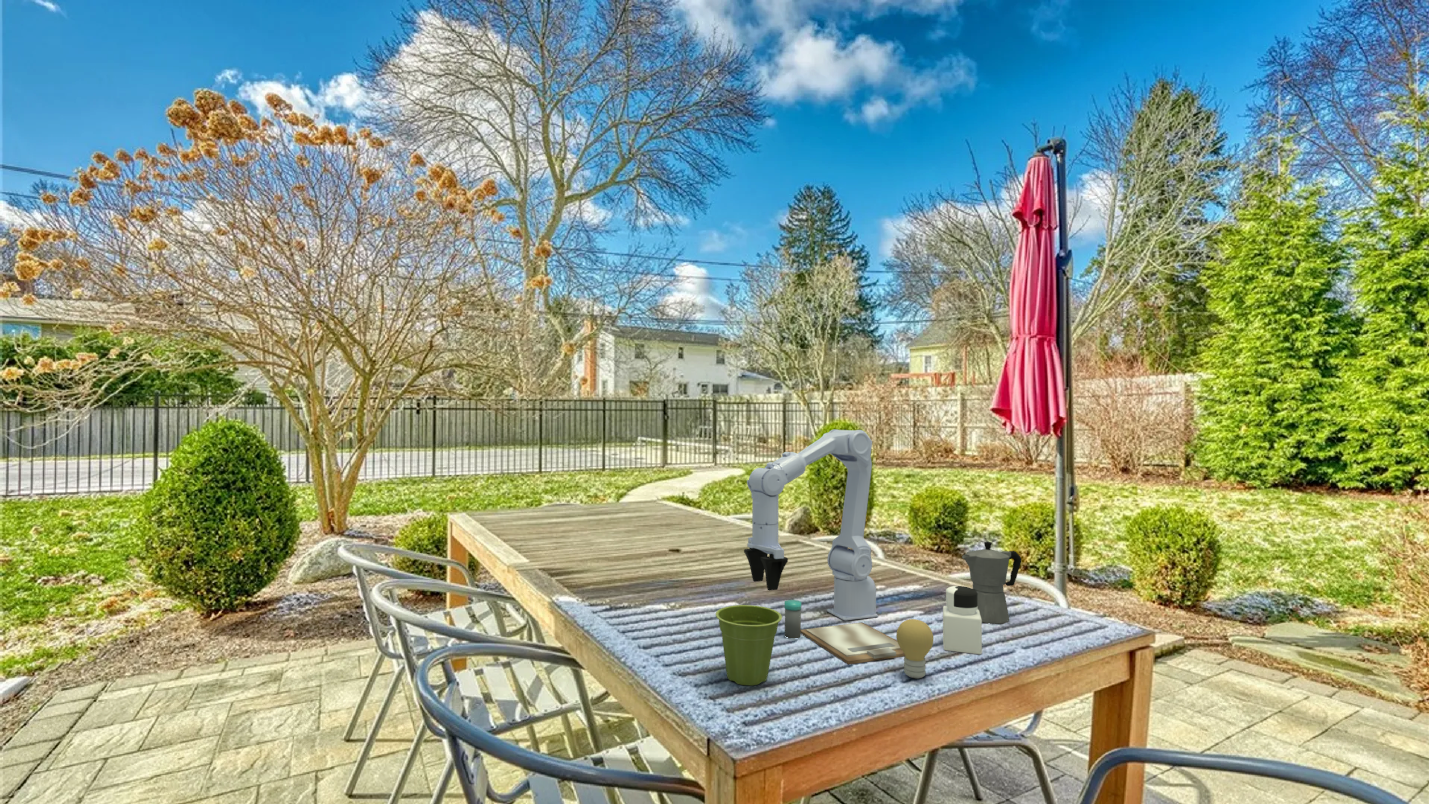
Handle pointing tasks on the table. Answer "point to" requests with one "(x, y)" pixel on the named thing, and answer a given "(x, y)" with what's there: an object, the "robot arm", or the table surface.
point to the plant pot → (748, 641)
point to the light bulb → (914, 646)
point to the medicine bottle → (962, 621)
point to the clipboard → (855, 642)
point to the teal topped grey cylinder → (792, 618)
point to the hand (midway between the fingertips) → (765, 585)
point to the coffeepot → (992, 581)
